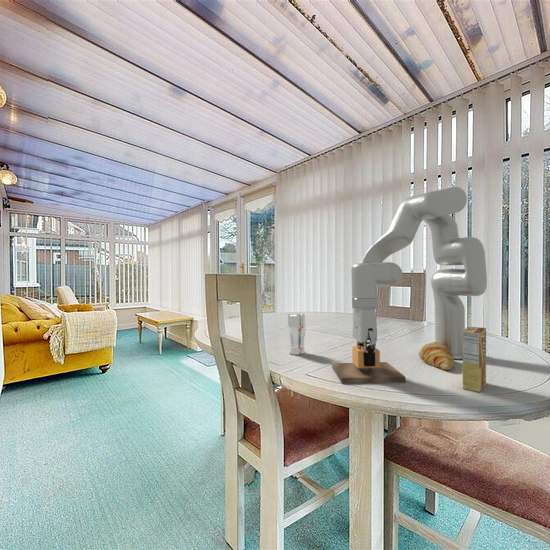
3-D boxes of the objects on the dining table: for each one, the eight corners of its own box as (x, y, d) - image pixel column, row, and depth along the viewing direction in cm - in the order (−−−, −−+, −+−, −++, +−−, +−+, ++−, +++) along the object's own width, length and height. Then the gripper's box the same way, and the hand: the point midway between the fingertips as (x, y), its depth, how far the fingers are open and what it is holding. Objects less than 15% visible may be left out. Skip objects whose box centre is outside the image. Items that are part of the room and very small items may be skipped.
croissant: (458, 384, 91) (472, 361, 91) (427, 368, 93) (440, 345, 92) (432, 362, 112) (443, 343, 112) (407, 349, 114) (417, 330, 113)
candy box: (469, 379, 85) (468, 326, 85) (487, 383, 82) (486, 327, 82) (462, 388, 79) (461, 330, 79) (481, 393, 76) (480, 332, 76)
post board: (386, 366, 98) (386, 342, 98) (405, 381, 84) (404, 353, 84) (332, 367, 98) (331, 343, 98) (341, 383, 84) (341, 355, 84)
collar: (372, 361, 95) (372, 345, 95) (380, 367, 88) (379, 350, 88) (352, 361, 95) (352, 346, 95) (358, 368, 88) (357, 351, 88)
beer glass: (305, 350, 120) (305, 313, 120) (306, 355, 114) (305, 316, 113) (288, 350, 121) (287, 313, 121) (287, 355, 114) (286, 316, 114)
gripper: (345, 301, 100) (346, 355, 100) (360, 307, 83) (361, 372, 83) (368, 300, 100) (369, 354, 100) (387, 306, 83) (389, 371, 83)
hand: (365, 361), depth 91 cm, fingers closed on collar, 6 cm apart
